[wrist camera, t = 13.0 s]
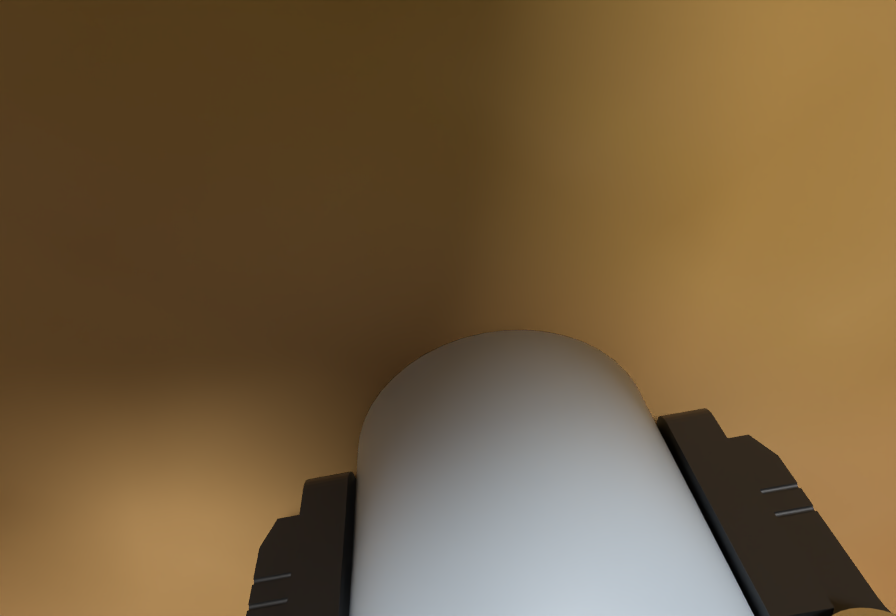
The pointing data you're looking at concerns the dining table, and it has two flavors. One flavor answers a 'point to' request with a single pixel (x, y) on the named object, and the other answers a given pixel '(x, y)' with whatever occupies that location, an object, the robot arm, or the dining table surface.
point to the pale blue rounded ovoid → (526, 492)
